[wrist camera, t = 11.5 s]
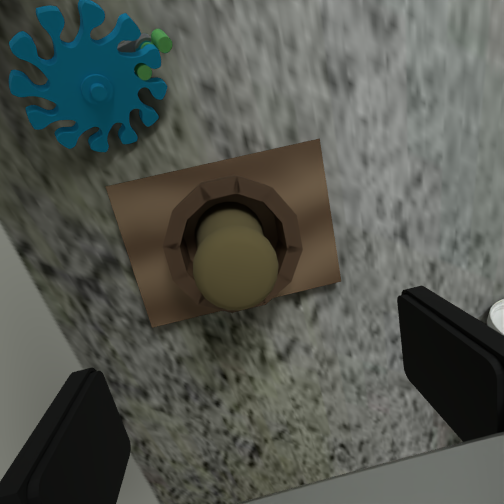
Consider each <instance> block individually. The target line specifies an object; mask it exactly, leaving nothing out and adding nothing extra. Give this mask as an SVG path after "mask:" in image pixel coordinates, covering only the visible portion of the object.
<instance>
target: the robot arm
mask: <svg viewBox="0 0 504 504" xmlns="http://www.w3.org/2000/svg"><path fill="white" fill-rule="evenodd" d="M397 303H398V313H399V323H400V333H401V343H402V353H403V364H404V371H405V374H406V376H407V378H408V379H409V381H410V382H411V383H412V384H413V385H414V386H415V387H416V389H417V390H418V391H419V392H420V393H421V394H422V395H423V397H424V398H425V399H426V400H427V401H428V402H429V403H430V405H431V406H432V407H433V408H434V409H435V410H436V411H437V412H438V414H439V415H440V416H441V417H442V418H443V419H444V420H445V422H446V423H447V424H448V425H449V426H450V427H451V428H452V429H453V431H454V432H455V433H456V434H457V435H458V436H459V437H460V439H461V440H462V441H463V442H462V443H458V444H454V445H450V446H446V447H443V448H439V449H435V450H431V451H428V452H424V453H420V454H416V455H413V456H409V457H405V458H401V459H398V460H394V461H390V462H386V463H383V464H379V465H375V466H371V467H368V468H364V469H360V470H356V471H353V472H349V473H345V474H342V475H338V476H334V477H331V478H327V479H323V480H320V481H316V482H312V483H309V484H305V485H301V486H298V487H294V488H290V489H287V490H283V491H279V492H276V493H272V494H268V495H265V496H261V497H257V498H254V499H250V500H247V501H243V502H239V503H236V504H504V335H502V334H501V333H499V332H497V331H496V330H494V329H492V328H491V327H489V326H488V325H486V324H484V323H483V322H481V321H479V320H478V319H476V318H474V317H473V316H471V315H470V314H468V313H466V312H465V311H463V310H461V309H460V308H458V307H456V306H455V305H453V304H452V303H450V302H448V301H447V300H445V299H443V298H442V297H440V296H438V295H437V294H435V293H434V292H432V291H430V290H429V289H427V288H425V287H424V286H418V287H414V288H410V289H406V290H403V291H402V294H401V296H398V299H397ZM130 450H131V446H130V440H129V437H128V435H127V432H126V430H125V427H124V425H123V422H122V420H121V417H120V415H119V412H118V410H117V407H116V405H115V402H114V400H113V397H112V395H111V392H110V390H109V387H108V385H107V382H106V380H105V377H104V375H103V373H102V372H101V371H96V370H95V369H94V368H88V369H84V370H80V371H77V372H73V373H72V374H71V375H70V376H69V378H68V379H67V381H66V382H65V384H64V385H63V387H62V388H61V390H60V391H59V393H58V394H57V396H56V398H55V399H54V401H53V402H52V403H51V405H50V407H49V408H48V410H47V411H46V413H45V414H44V416H43V417H42V419H41V420H40V422H39V423H38V425H37V426H36V428H35V429H34V431H33V433H32V434H31V436H30V437H29V439H28V440H27V442H26V443H25V445H24V446H23V448H22V449H21V451H20V452H19V454H18V456H17V457H16V458H15V460H14V462H13V463H12V465H11V466H10V468H9V469H8V471H7V472H6V474H5V475H4V477H3V478H2V480H1V481H0V504H116V502H117V499H118V495H119V491H120V488H121V484H122V481H123V477H124V474H125V470H126V466H127V463H128V459H129V456H130Z"/></svg>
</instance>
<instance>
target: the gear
mask: <svg viewBox="0 0 504 504" xmlns="http://www.w3.org/2000/svg"><path fill="white" fill-rule="evenodd" d="M78 10H79V14H80V28H79V31H78V34H77V35H76V37H75V39H74V41H72V42H70V43H67V42H64V41H62V40H61V39H60V34H61V32H62V30H63V28H64V23H65V22H64V18H63V16H62V14H61V12H60V10H59V9H58V8H57V6H42V7H39V8H36V15H37V18H38V20H39V22H40V24H41V25H42V27H43V28H44V29H45V30H46V31H47V32H48V33H49V35H50V36H51V38H52V41H53V46H54V56H53V58H51V59H49V60H44V59H42V58H40V57H39V56H38V54H37V49H36V46H35V43H34V41H33V39H32V38H31V36H30V35H29V34H27V33H26V32H24V31H21V32H18V33H17V34H16V35H15V36H14V37H13V38H12V39H11V41H10V42H9V46H10V49H11V51H12V53H13V54H14V55H15V56H16V57H18V58H20V59H22V60H25V61H28V62H30V63H32V64H33V65H35V66H36V67H38V68H39V69H40V70H41V71H42V72H43V73H44V74H45V76H46V77H47V78H48V80H47V83H46V84H44V85H36V84H34V83H33V82H32V81H31V80H30V79H29V78H28V76H27V75H26V74H25V73H23V72H21V71H19V70H11V72H10V75H9V88H10V91H11V93H12V94H13V95H15V96H17V97H27V96H37V97H42V98H45V99H47V100H50V101H52V102H54V103H55V104H57V105H56V107H55V108H54V109H52V110H46V109H44V108H41V107H39V106H36V105H30V106H27V107H26V113H27V116H28V119H29V121H30V123H31V125H32V126H33V128H34V129H37V130H39V129H43V128H45V127H46V126H47V125H49V124H50V123H52V122H55V121H59V120H74V121H76V123H75V125H74V126H72V127H61V128H58V129H57V130H56V131H55V136H56V139H57V140H58V142H59V143H60V144H62V145H63V146H65V147H67V148H68V149H71V148H73V147H75V145H76V143H77V140H78V138H79V137H80V135H81V134H82V133H83V132H85V131H86V130H88V129H90V128H92V127H99V128H100V129H99V131H98V132H96V133H94V134H93V135H91V136H90V137H89V139H88V143H89V145H90V147H91V149H92V150H94V151H97V152H106V151H107V150H108V148H109V145H108V141H107V137H108V133H109V131H110V129H111V127H112V126H113V125H114V124H115V123H122V126H121V127H120V129H119V131H118V136H119V138H120V140H121V142H122V143H123V144H130V143H133V142H136V141H137V139H138V137H137V135H136V133H135V131H134V130H133V128H132V127H131V126H130V123H129V114H130V112H131V110H133V109H139V116H140V118H141V120H142V122H143V123H144V124H145V125H146V126H148V127H149V126H151V125H152V124H154V123H155V122H156V121H157V120H158V118H159V116H158V114H157V113H156V111H155V110H154V109H153V108H152V107H150V106H147V105H145V104H144V103H142V102H141V101H140V99H139V98H138V91H139V90H140V89H141V88H144V87H146V88H148V89H149V91H150V92H151V94H152V95H153V96H154V98H156V99H158V100H162V99H163V98H164V96H165V93H166V90H167V85H166V84H165V82H164V81H163V80H162V79H161V78H158V77H155V78H151V76H152V70H151V68H153V69H157V68H159V67H160V66H161V57H160V53H159V50H160V51H161V52H162V53H167V52H169V51H170V50H171V48H172V41H171V39H170V38H169V37H168V36H167V35H166V34H165V33H164V32H163V31H162V30H161V29H155V30H154V31H153V32H152V34H151V36H150V35H148V34H145V33H142V34H141V32H140V30H139V28H138V26H137V25H136V24H135V23H134V22H133V20H132V19H131V18H130V17H129V16H128V15H127V14H126V13H124V14H122V15H120V16H119V18H118V20H117V24H116V26H115V28H114V29H113V31H112V32H111V33H110V34H109V35H107V36H106V37H104V38H102V39H100V40H93V39H92V38H90V32H91V30H92V29H93V28H95V27H97V26H99V25H101V24H102V23H103V21H104V18H105V13H104V11H103V9H102V8H101V7H100V6H99V5H98V4H96V3H95V2H93V1H91V0H79V2H78ZM123 40H127V41H125V42H123V43H121V44H119V43H120V42H121V41H123ZM118 44H119V45H118ZM158 49H159V50H158ZM134 71H135V72H136V73H135V72H134Z"/></svg>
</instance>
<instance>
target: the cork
mask: <svg viewBox="0 0 504 504" xmlns="http://www.w3.org/2000/svg"><path fill="white" fill-rule="evenodd" d="M195 243H196V246H197V252H196V254H195V257H194V260H193V276H194V279H195V283H196V286H197V288H198V289H199V290H200V292H201V293H202V295H203V296H204V297H205V299H207V300H208V301H209V302H211V303H212V304H213V305H215V306H217V307H220V308H223V309H226V310H244V309H248V308H251V307H254V306H255V305H257V304H259V303H260V302H262V301H263V300H264V299H265V298H266V297H267V296H268V295H269V294H270V293H271V291H272V289H273V287H274V285H275V283H276V280H277V275H278V265H279V264H278V260H277V256H276V252H275V250H274V249H273V247H272V245H271V244H270V242H269V241H268V239H267V238H265V237H264V232H263V228H262V223H261V221H260V220H259V218H258V216H257V215H256V213H255V212H253V211H252V210H251V209H250V208H249V207H247V206H245V205H243V204H240V203H238V202H222V203H218V204H215V205H213V206H212V207H210V208H209V209H207V210H206V211H205V212H204V213H203V214H202V216H201V217H200V218H199V220H198V223H197V225H196V228H195Z"/></svg>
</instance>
